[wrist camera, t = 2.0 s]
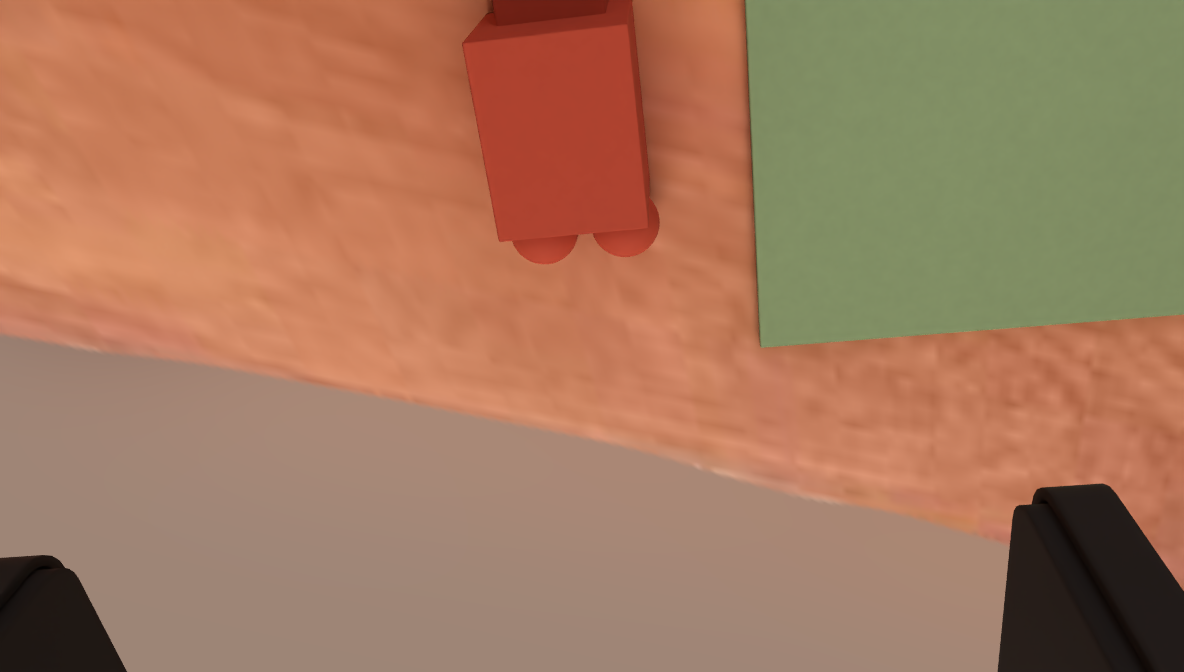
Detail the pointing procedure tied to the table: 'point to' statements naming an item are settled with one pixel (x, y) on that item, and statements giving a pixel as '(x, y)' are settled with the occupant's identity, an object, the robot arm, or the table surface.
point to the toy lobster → (562, 125)
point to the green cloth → (964, 164)
